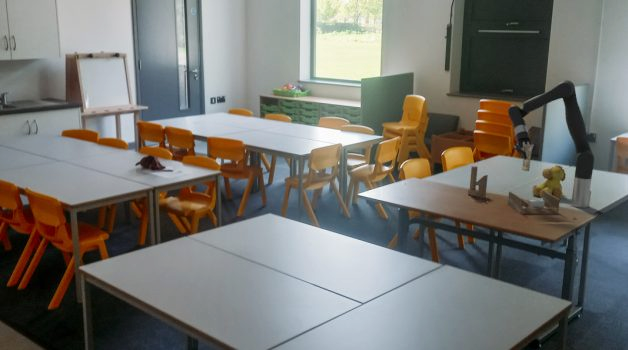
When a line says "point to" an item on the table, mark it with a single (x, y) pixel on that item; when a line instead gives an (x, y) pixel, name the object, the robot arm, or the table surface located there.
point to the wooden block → (481, 183)
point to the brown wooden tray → (522, 207)
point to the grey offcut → (536, 203)
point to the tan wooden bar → (528, 153)
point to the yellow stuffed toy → (551, 182)
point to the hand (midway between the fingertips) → (528, 158)
